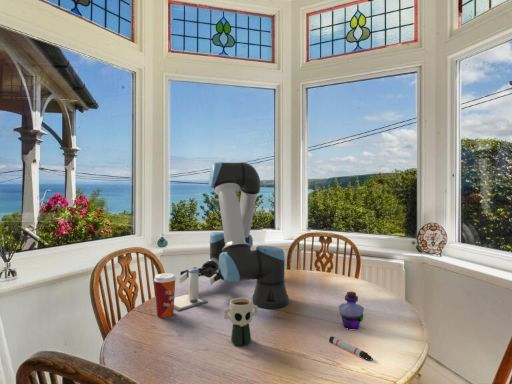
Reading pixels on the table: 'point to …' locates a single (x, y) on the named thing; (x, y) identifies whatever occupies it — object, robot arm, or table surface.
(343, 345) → the marker
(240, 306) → the character mug
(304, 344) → the table surface
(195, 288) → the thick grey marker
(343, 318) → the potion bottle
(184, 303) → the writing board
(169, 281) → the coffee cup
